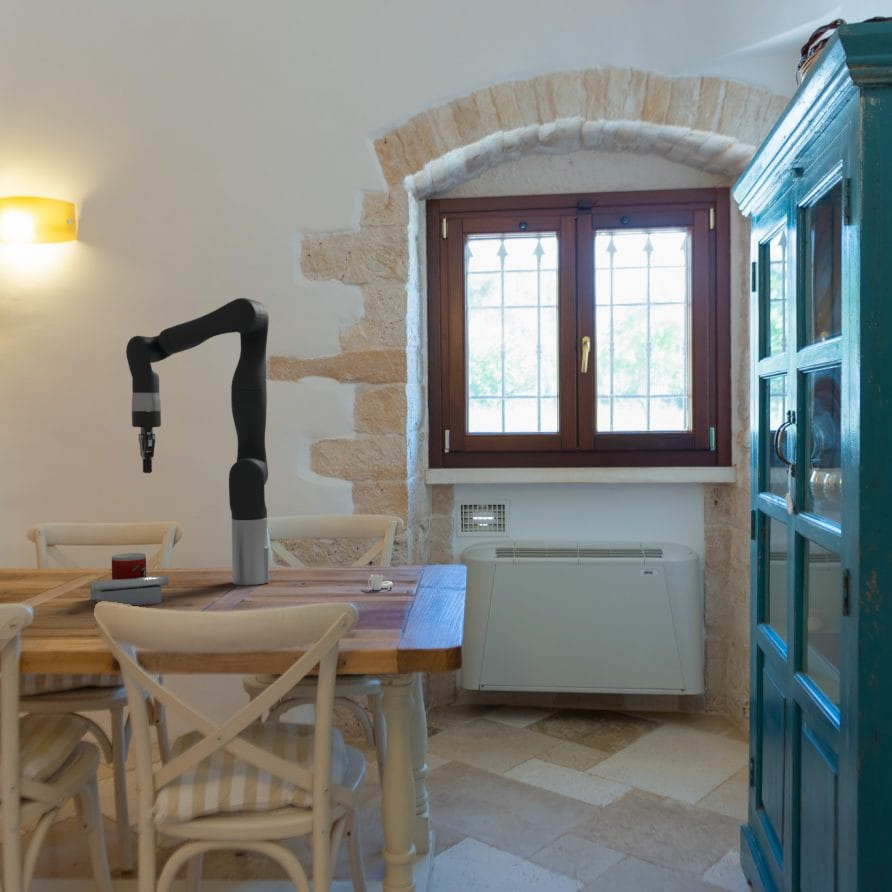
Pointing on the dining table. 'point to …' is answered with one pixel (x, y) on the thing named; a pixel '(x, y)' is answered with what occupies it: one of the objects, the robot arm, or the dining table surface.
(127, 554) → the canned food
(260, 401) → the robot arm
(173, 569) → the dining table surface
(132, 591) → the cradle
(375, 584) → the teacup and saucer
